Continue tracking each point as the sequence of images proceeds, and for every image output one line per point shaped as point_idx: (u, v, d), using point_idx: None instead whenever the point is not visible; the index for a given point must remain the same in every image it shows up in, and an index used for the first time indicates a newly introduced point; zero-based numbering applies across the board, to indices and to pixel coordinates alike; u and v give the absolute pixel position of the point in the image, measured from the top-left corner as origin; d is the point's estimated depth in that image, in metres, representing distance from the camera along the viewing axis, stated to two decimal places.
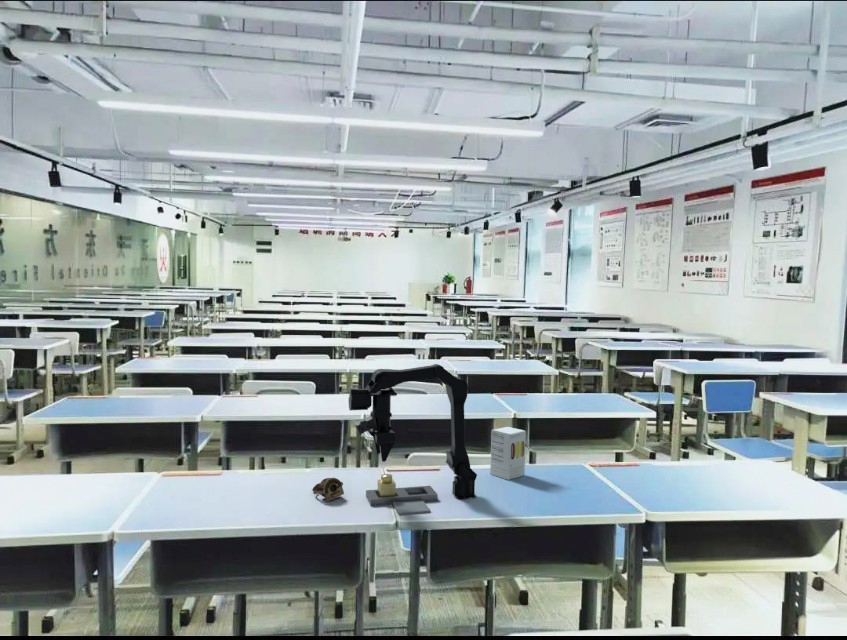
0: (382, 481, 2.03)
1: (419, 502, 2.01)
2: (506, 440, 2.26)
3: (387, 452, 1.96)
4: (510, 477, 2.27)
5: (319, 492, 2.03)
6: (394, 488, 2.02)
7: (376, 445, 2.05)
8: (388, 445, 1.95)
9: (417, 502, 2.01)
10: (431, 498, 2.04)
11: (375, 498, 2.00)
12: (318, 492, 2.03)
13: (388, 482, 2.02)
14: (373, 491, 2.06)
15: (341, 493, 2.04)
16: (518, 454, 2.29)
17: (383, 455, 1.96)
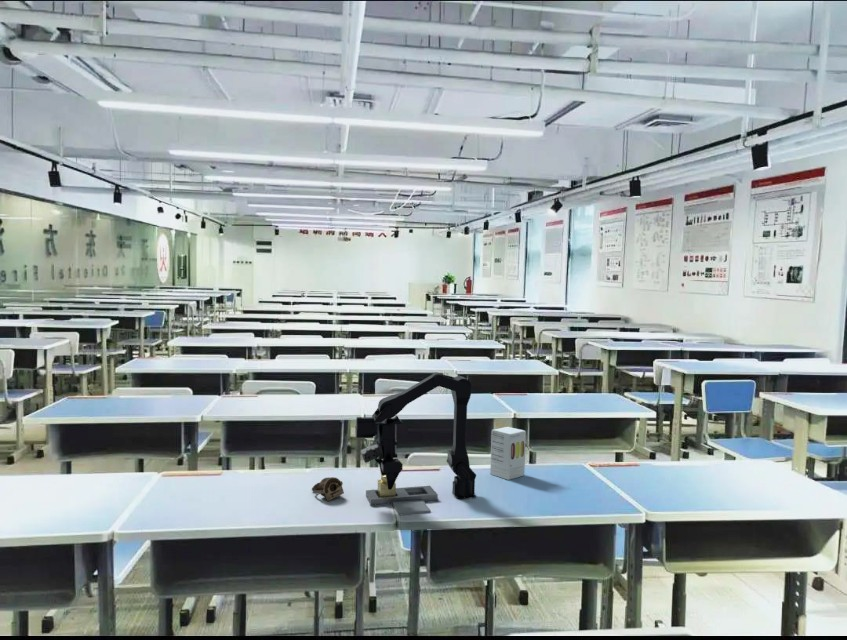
0: (382, 481, 2.03)
1: (419, 502, 2.01)
2: (507, 440, 2.26)
3: (393, 480, 1.99)
4: (510, 477, 2.27)
5: (319, 492, 2.03)
6: (394, 488, 2.02)
7: (382, 472, 2.08)
8: (394, 473, 1.98)
9: (417, 502, 2.01)
10: (431, 498, 2.04)
11: (375, 498, 2.00)
12: (318, 492, 2.04)
13: None
14: (373, 491, 2.06)
15: (341, 493, 2.05)
16: (518, 454, 2.29)
17: (389, 483, 1.99)
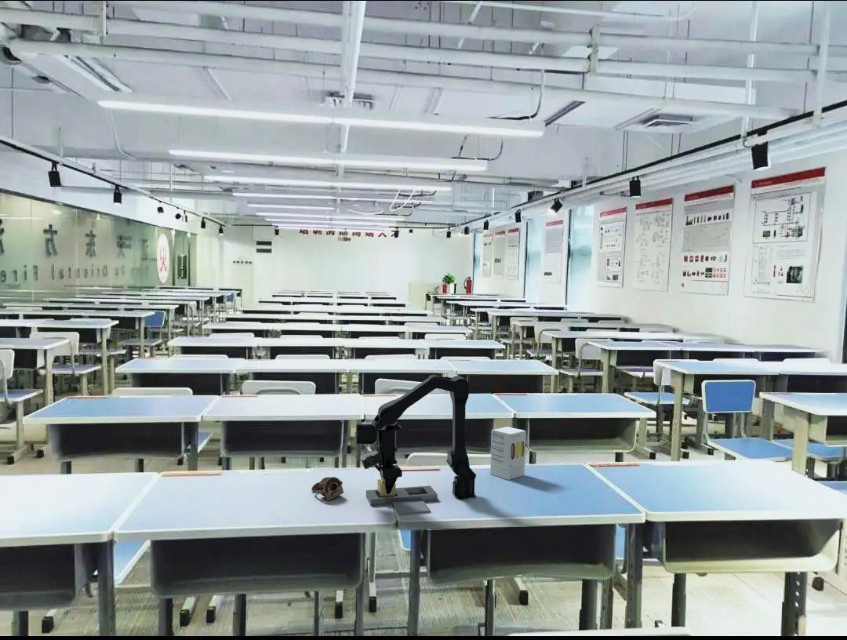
0: (382, 481, 2.03)
1: (419, 502, 2.01)
2: (507, 440, 2.26)
3: (391, 485, 2.01)
4: (510, 477, 2.27)
5: (319, 491, 2.04)
6: (394, 488, 2.02)
7: None
8: (392, 478, 2.00)
9: (417, 502, 2.01)
10: (431, 498, 2.04)
11: (375, 498, 2.00)
12: (318, 491, 2.04)
13: None
14: (373, 491, 2.06)
15: (341, 492, 2.05)
16: (518, 454, 2.29)
17: (387, 488, 2.01)
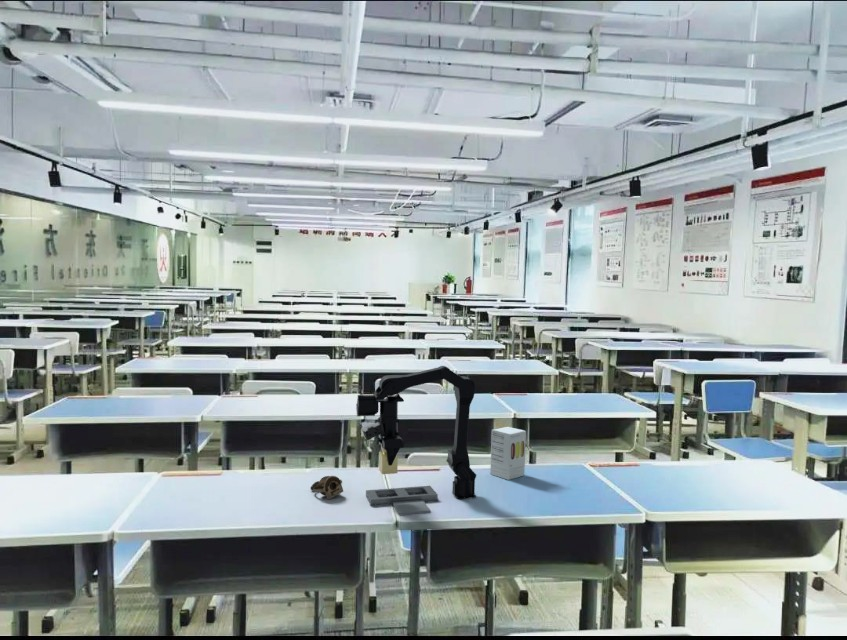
0: (384, 452, 2.02)
1: (419, 502, 2.01)
2: (507, 440, 2.26)
3: (393, 456, 2.00)
4: (510, 477, 2.27)
5: (319, 490, 2.04)
6: (396, 459, 2.01)
7: None
8: (394, 449, 1.99)
9: (417, 502, 2.01)
10: (431, 498, 2.04)
11: (375, 498, 2.00)
12: (318, 490, 2.05)
13: None
14: (373, 491, 2.06)
15: (341, 491, 2.07)
16: (518, 454, 2.29)
17: (389, 459, 2.00)
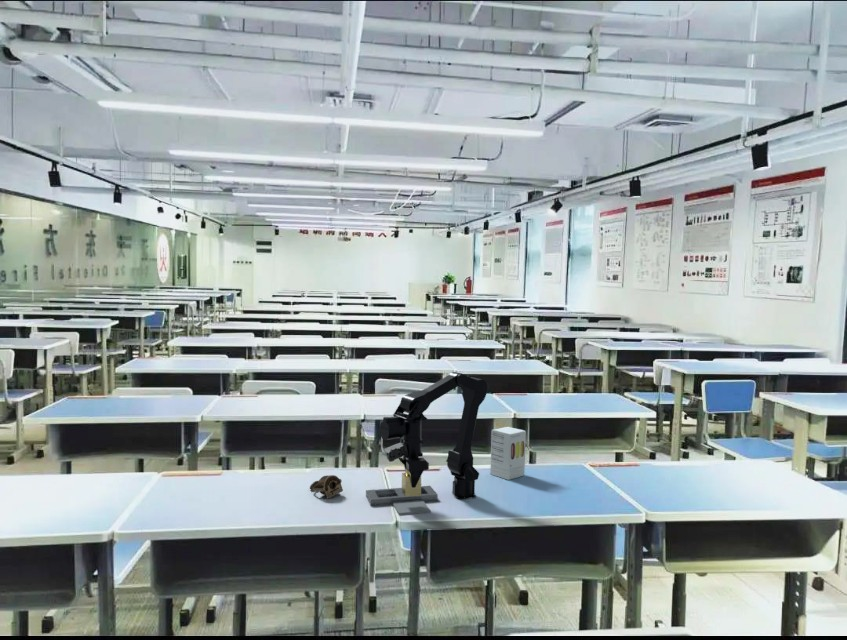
0: (407, 474, 1.95)
1: (419, 502, 2.01)
2: (507, 440, 2.26)
3: (417, 478, 1.94)
4: (510, 477, 2.27)
5: (319, 490, 2.05)
6: (419, 481, 1.95)
7: None
8: (418, 471, 1.93)
9: (417, 502, 2.01)
10: (431, 498, 2.04)
11: (375, 498, 2.00)
12: (317, 490, 2.05)
13: None
14: (373, 491, 2.06)
15: (340, 490, 2.07)
16: (518, 454, 2.29)
17: (413, 481, 1.93)
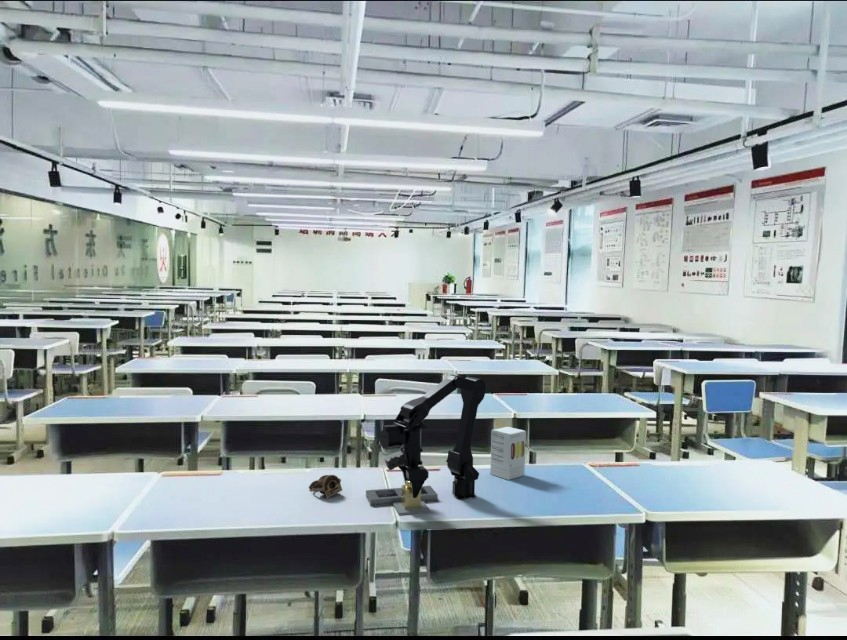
0: (407, 487, 1.96)
1: None
2: (507, 440, 2.26)
3: (418, 488, 1.92)
4: (510, 477, 2.27)
5: (318, 489, 2.05)
6: (419, 494, 1.95)
7: None
8: (419, 481, 1.91)
9: None
10: (431, 498, 2.04)
11: (375, 498, 2.00)
12: (317, 489, 2.06)
13: None
14: (373, 491, 2.06)
15: (340, 490, 2.08)
16: (518, 454, 2.29)
17: (414, 491, 1.92)
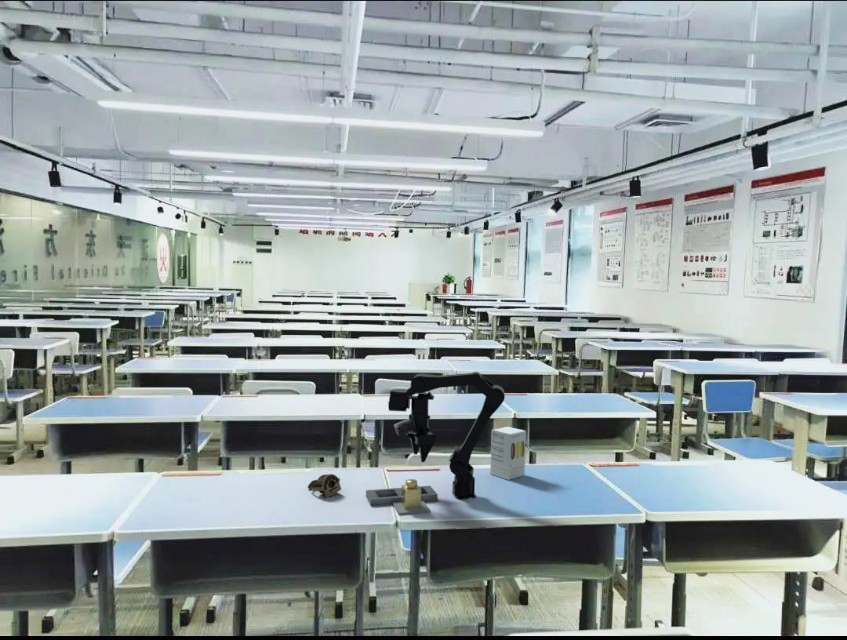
0: (407, 487, 1.96)
1: None
2: (507, 440, 2.26)
3: (426, 453, 2.05)
4: (510, 477, 2.27)
5: (317, 489, 2.06)
6: (419, 494, 1.95)
7: (413, 446, 2.14)
8: (427, 446, 2.04)
9: None
10: (431, 498, 2.04)
11: (375, 498, 2.00)
12: (316, 489, 2.07)
13: (413, 488, 1.95)
14: (373, 491, 2.06)
15: (339, 489, 2.09)
16: (518, 454, 2.29)
17: (422, 456, 2.05)
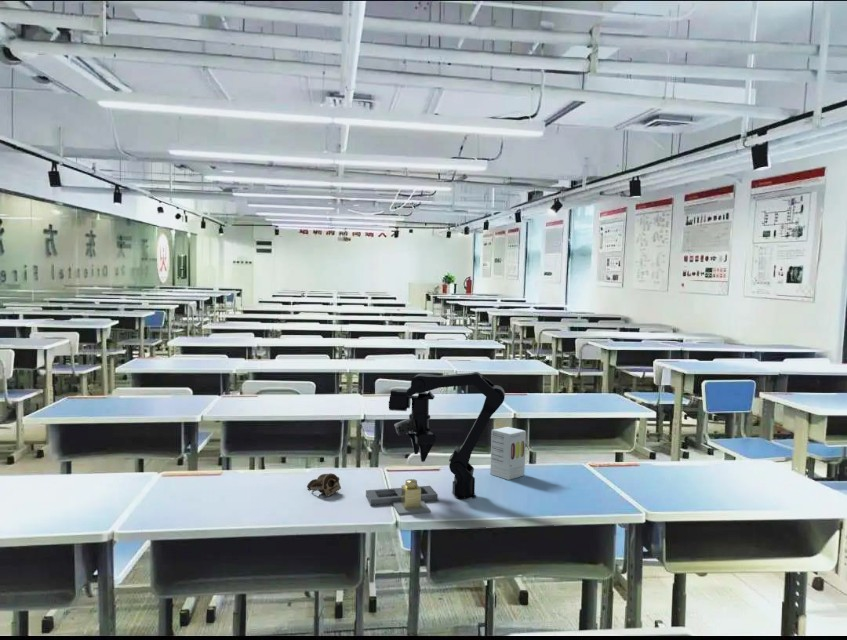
0: (407, 487, 1.96)
1: None
2: (507, 440, 2.26)
3: (426, 452, 2.05)
4: (510, 477, 2.27)
5: (317, 488, 2.07)
6: (419, 494, 1.95)
7: (414, 446, 2.15)
8: (427, 446, 2.05)
9: None
10: (431, 498, 2.04)
11: (375, 498, 2.00)
12: (316, 488, 2.07)
13: (413, 488, 1.95)
14: (373, 491, 2.06)
15: (339, 488, 2.09)
16: (518, 454, 2.29)
17: (422, 455, 2.05)
